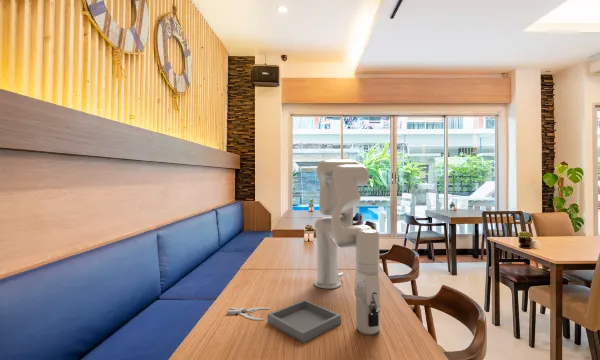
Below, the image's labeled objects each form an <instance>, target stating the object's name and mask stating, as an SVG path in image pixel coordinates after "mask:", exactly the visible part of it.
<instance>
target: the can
mask: <svg viewBox="0 0 600 360" xmlns="http://www.w3.org/2000/svg"><path fill="white" fill-rule="evenodd" d="M355 302H356V303H355V305H356V306H355V315H356V316H355V320H356V321H355V324H356V325H355V326H356V329H357V330H358V331H359V332H360V333H361V334H364V335H367V336H372V335H375V334H376V333H378V332H379V331H380V313H379V314H378V326H374V327H369V326H368V314H370V313H369V308H368V306H365V305H364V304H363V302H362V300H361V296H360V295H359V294H358V297H355ZM371 304H374V301H371ZM371 308H372V309H373V308H375V306H371Z"/></svg>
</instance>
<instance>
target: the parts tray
mask: <svg viewBox="0 0 600 360" xmlns="http://www.w3.org/2000/svg"><path fill="white" fill-rule="evenodd" d="M267 324H269V325H271V326H272V327H274V328H276V329H278V330H279V331H281V332H283V333H284V334H287V335H288V336H290V337H292V338H294V339H295V340H297V341H299V342H300V343H302V344H304V343H306V342H308V341H311V340H312V339H314V338H315V337H317V336H320V335H322V334H323V333H326V332H327V331H329V330H331V329H333V328H335V327H338V326H339V325H341V324H342V315H341V314H340V313H337V312H334V311H332V310H330V309H328V308H325V307H324V306H322V305H321V306H320V305H318V304H316V303H313V302H312V301H309V300H306V299H303V300H301V301H298V302H296V303H293V304H291V305H287V306H285V307H283V308H280V309H278V310H274V311H273V312H269V313H267Z"/></svg>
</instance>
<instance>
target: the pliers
mask: <svg viewBox="0 0 600 360" xmlns="http://www.w3.org/2000/svg"><path fill="white" fill-rule="evenodd" d="M259 310H261V311H262V310H271V307H262V306H261V307H252V308H247V309H246V308H245V307H240V308H239V307H233V306H232V307H229V310H226V315H229V314H230V315H234V316H235V315H236V314H237V315H239V316H242V317H244V318H246V319H247V320H252V321H265V318H261V317H254V316H253V314H251V313H255V312H257V311H259ZM243 312H244V313H243ZM247 313H248V314H247Z"/></svg>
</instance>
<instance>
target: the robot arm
mask: <svg viewBox="0 0 600 360" xmlns="http://www.w3.org/2000/svg"><path fill="white" fill-rule="evenodd" d="M316 173H317V174H316V175H317V179H318V182H319V200H318V201H319V204H318V208H319V212H320V213H321V214H322V215H324V216H323V217H320V218H317V219H316V221H315V222H314V229H315V236H316V244H317V245H316V257H317V258H316V259H317V260H316V262H317V267H316V268H317V269H316V272H317V273H316V276H317V278H316V279H315V280H314V282H313V284H314V286H315V287H317V288H319V289H325V290H326V289H327V290H330V289H331V290H332V289H336V288H337V289H338V288H339V287H341V285H342V282H341V280H340V278H342V277H344V272H343V271H342V272H339V271H338V269H339V266H338V247H339V248H344V249H345V248H355V275H354V277H355V278H354V296H355V298H357V297H358V294H359V295H360V296H361V300H362V302H363V304H364V305H365V306H368V308H369V313H370V314H368V326H369V327H374V326H378V314H379V315H380V312H381V309H382V304H381V300H380V299H381V294H380V293H381V290H380V278H379V273H380V234H379V232H378V230H376V229H373V228H372V227H371V226H370V225H366V224H358V225H357V224H354V223H353V221H354V220H353V219H354V207H355V206H356V205H358V204H359V203H360V202H361V195H360V191H359V187H358V186H362V187H363V186H366V185H367V184H368V183H369V180H370V173H369V170H368V168H367V167H366V165H365V164H363V163H360V162H359V161H357V160H354V159H326V160H325V159H324V160H321V161H319V162H318V163H317V166H316ZM353 224H354V225H353ZM338 272H339V273H338ZM371 301H374V304H371ZM371 306H375V308H373V309H372V308H371Z"/></svg>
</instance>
